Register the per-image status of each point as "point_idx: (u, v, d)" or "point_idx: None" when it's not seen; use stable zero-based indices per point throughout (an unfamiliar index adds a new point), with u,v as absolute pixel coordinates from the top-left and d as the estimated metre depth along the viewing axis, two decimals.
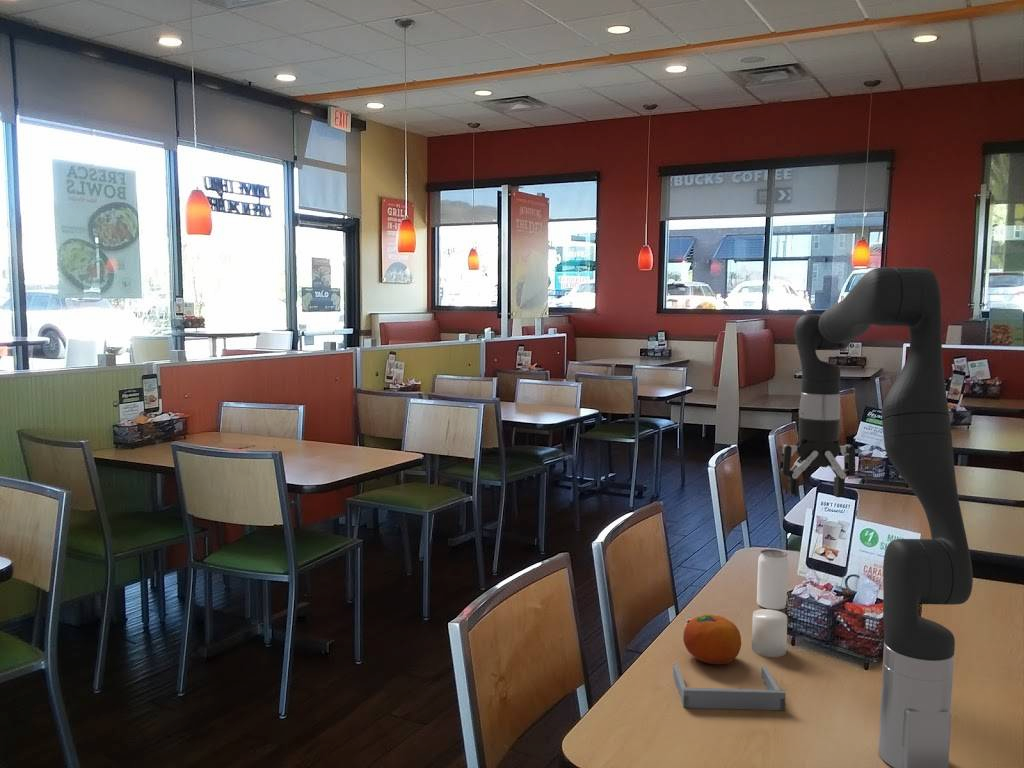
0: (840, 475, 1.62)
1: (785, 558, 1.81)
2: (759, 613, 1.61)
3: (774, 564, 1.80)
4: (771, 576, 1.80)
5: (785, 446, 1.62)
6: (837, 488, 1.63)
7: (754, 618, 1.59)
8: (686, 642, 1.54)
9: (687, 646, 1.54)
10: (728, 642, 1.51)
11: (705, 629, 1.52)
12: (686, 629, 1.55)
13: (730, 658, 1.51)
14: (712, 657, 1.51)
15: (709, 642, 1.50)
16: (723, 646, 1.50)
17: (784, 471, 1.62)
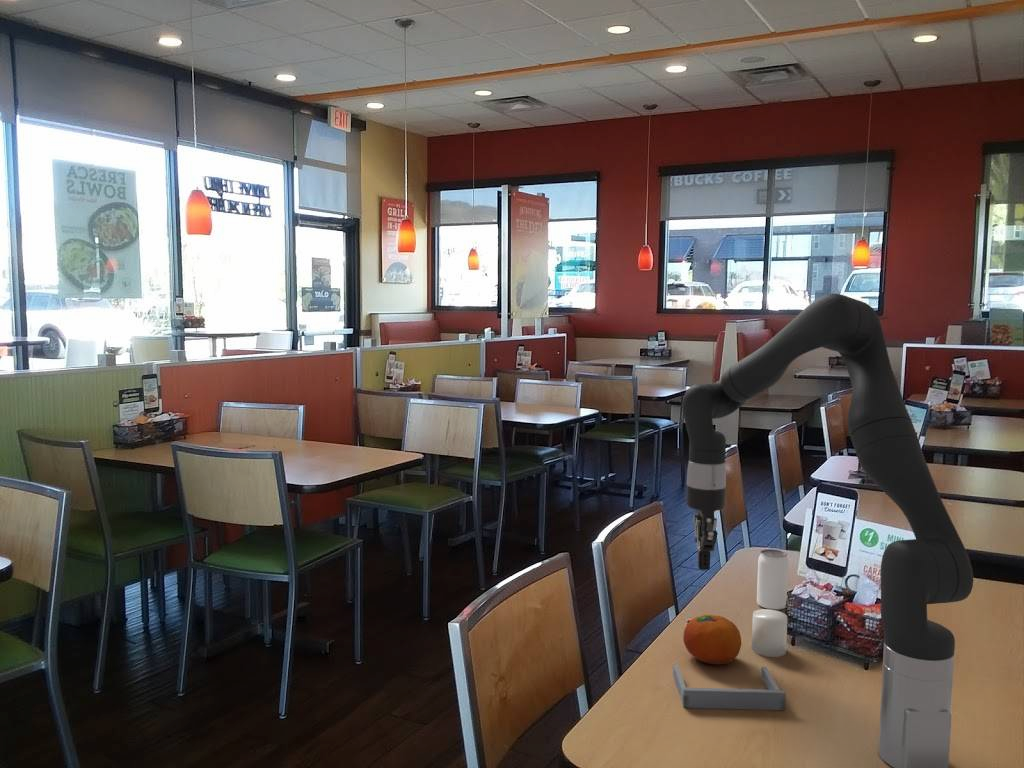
0: None
1: (785, 558, 1.81)
2: (759, 613, 1.61)
3: (774, 564, 1.80)
4: (771, 576, 1.80)
5: (714, 534, 1.58)
6: None
7: (754, 618, 1.59)
8: (686, 642, 1.54)
9: (687, 646, 1.54)
10: (728, 642, 1.51)
11: (705, 629, 1.52)
12: (686, 629, 1.55)
13: (730, 658, 1.51)
14: (712, 657, 1.51)
15: (709, 642, 1.50)
16: (723, 646, 1.50)
17: (713, 547, 1.61)
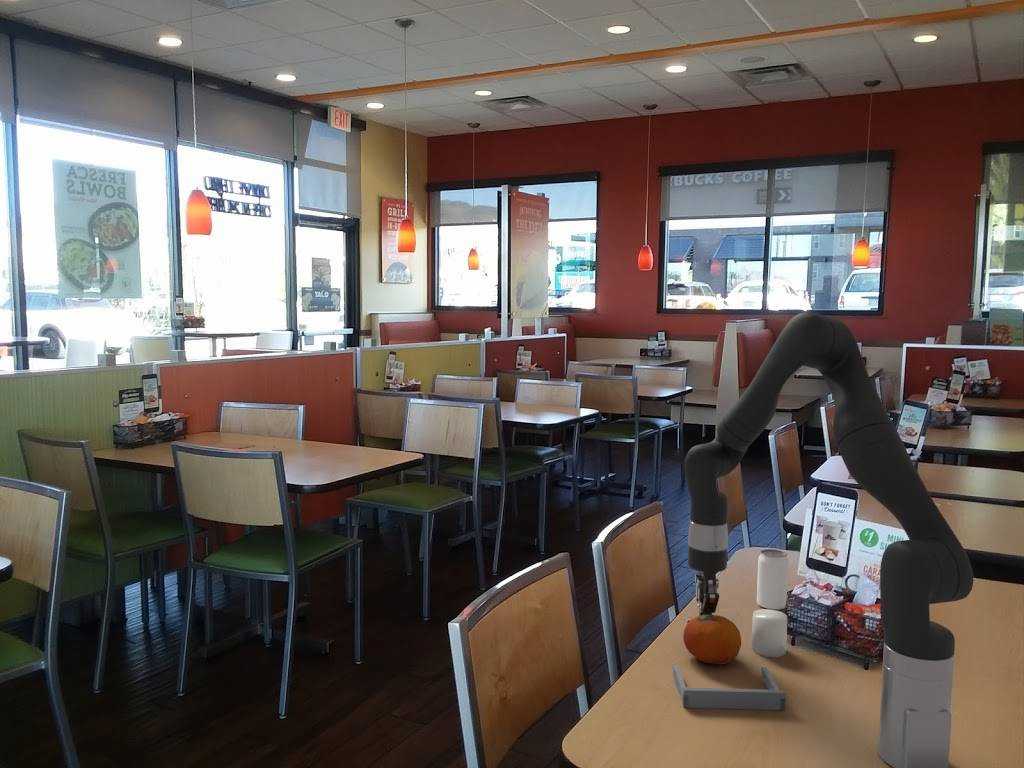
0: None
1: (785, 558, 1.81)
2: (759, 613, 1.61)
3: (774, 564, 1.80)
4: (772, 576, 1.80)
5: (716, 597, 1.56)
6: None
7: (754, 618, 1.59)
8: (686, 641, 1.54)
9: (687, 646, 1.54)
10: (728, 642, 1.51)
11: (705, 629, 1.52)
12: (686, 629, 1.55)
13: (730, 658, 1.51)
14: (712, 657, 1.51)
15: (710, 642, 1.50)
16: (723, 646, 1.50)
17: None
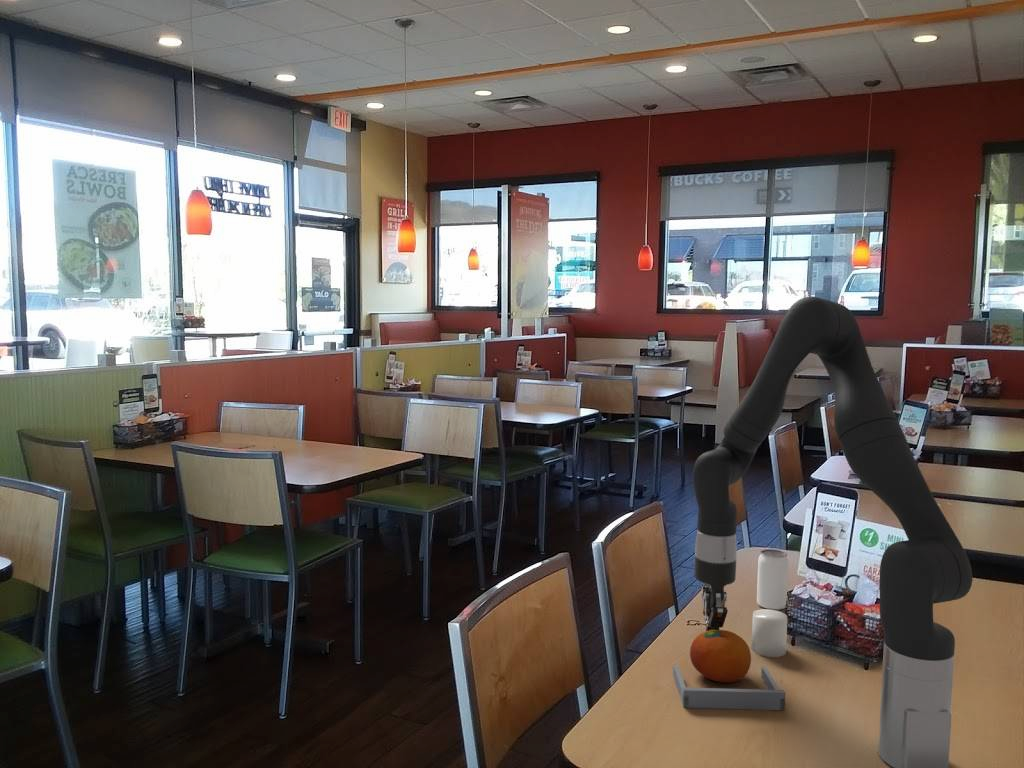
0: None
1: (785, 558, 1.81)
2: (759, 613, 1.61)
3: (774, 564, 1.80)
4: (772, 576, 1.80)
5: (724, 612, 1.48)
6: None
7: (754, 618, 1.59)
8: (694, 659, 1.47)
9: (694, 663, 1.47)
10: (738, 659, 1.43)
11: (713, 646, 1.44)
12: (693, 645, 1.48)
13: (740, 676, 1.44)
14: (721, 675, 1.43)
15: (719, 660, 1.43)
16: (733, 664, 1.43)
17: None
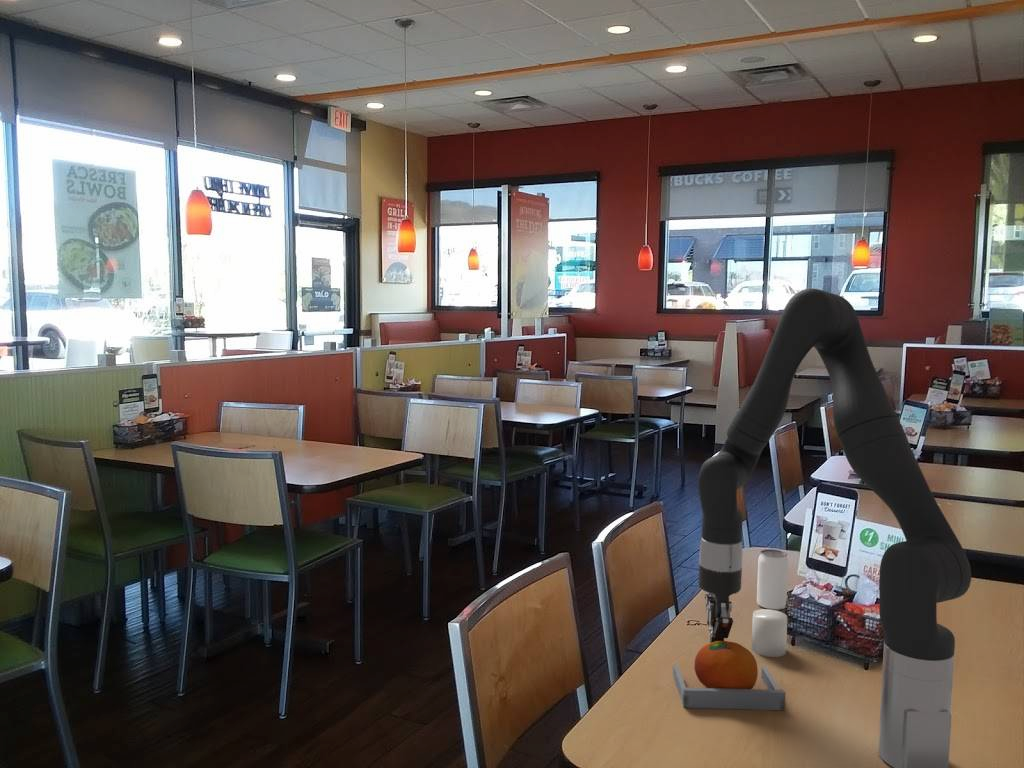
0: None
1: (785, 558, 1.81)
2: (759, 613, 1.61)
3: (774, 564, 1.80)
4: (772, 576, 1.80)
5: (729, 622, 1.43)
6: None
7: (754, 618, 1.59)
8: (699, 672, 1.42)
9: (699, 677, 1.42)
10: (745, 673, 1.38)
11: (719, 659, 1.39)
12: (698, 658, 1.43)
13: None
14: None
15: (725, 674, 1.38)
16: (740, 678, 1.38)
17: None
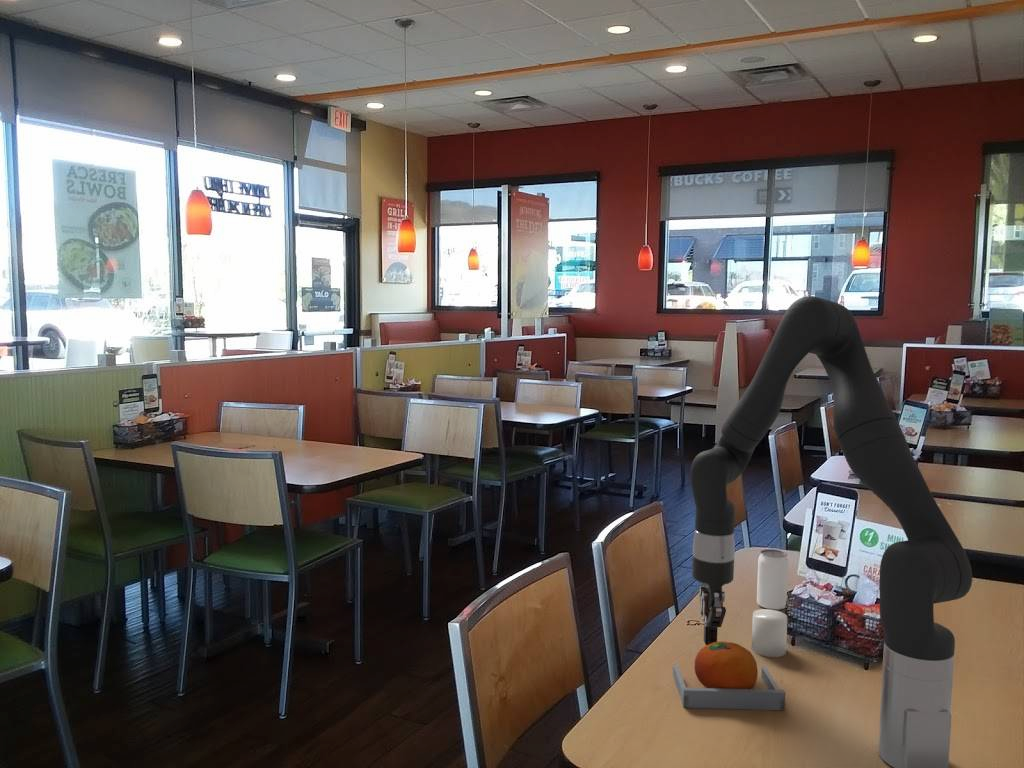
0: None
1: (785, 558, 1.81)
2: (759, 613, 1.61)
3: (774, 564, 1.80)
4: (771, 576, 1.80)
5: (722, 611, 1.48)
6: None
7: (754, 618, 1.59)
8: (699, 672, 1.42)
9: (699, 677, 1.42)
10: (745, 672, 1.38)
11: (719, 658, 1.40)
12: (698, 658, 1.43)
13: None
14: None
15: (725, 673, 1.38)
16: (740, 677, 1.38)
17: None
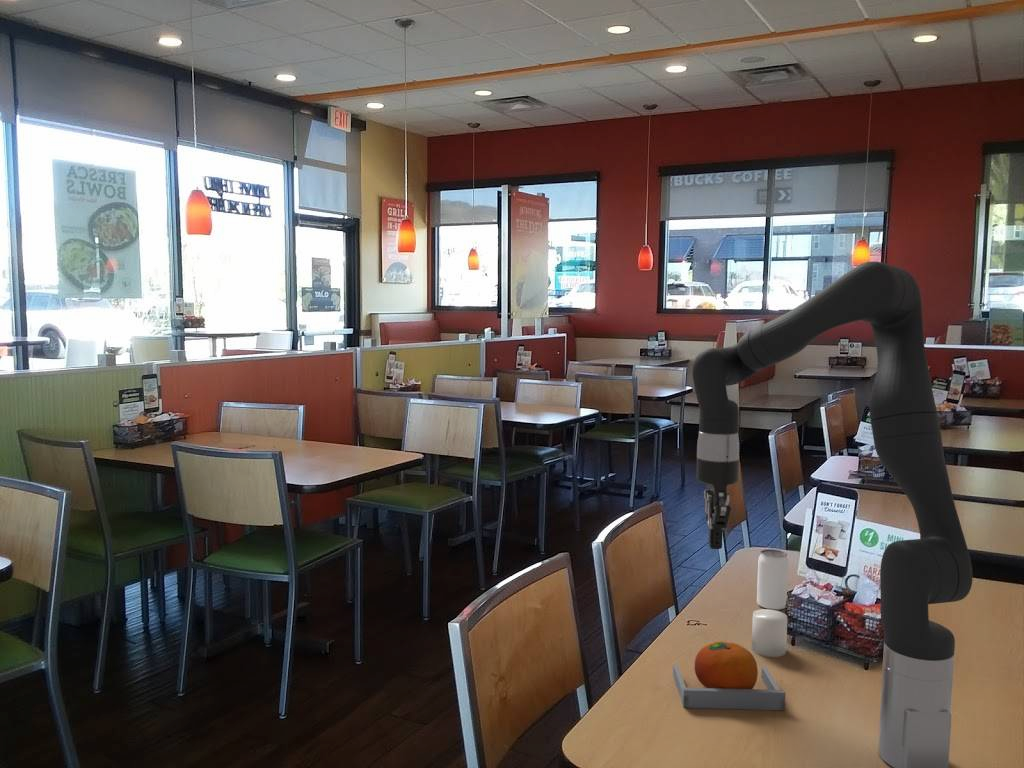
0: None
1: (785, 558, 1.81)
2: (759, 613, 1.61)
3: (774, 564, 1.80)
4: (772, 576, 1.80)
5: (727, 509, 1.47)
6: None
7: (754, 618, 1.59)
8: (699, 672, 1.42)
9: (699, 677, 1.42)
10: (745, 672, 1.38)
11: (719, 658, 1.40)
12: (698, 658, 1.43)
13: None
14: None
15: (725, 673, 1.38)
16: (740, 678, 1.38)
17: None
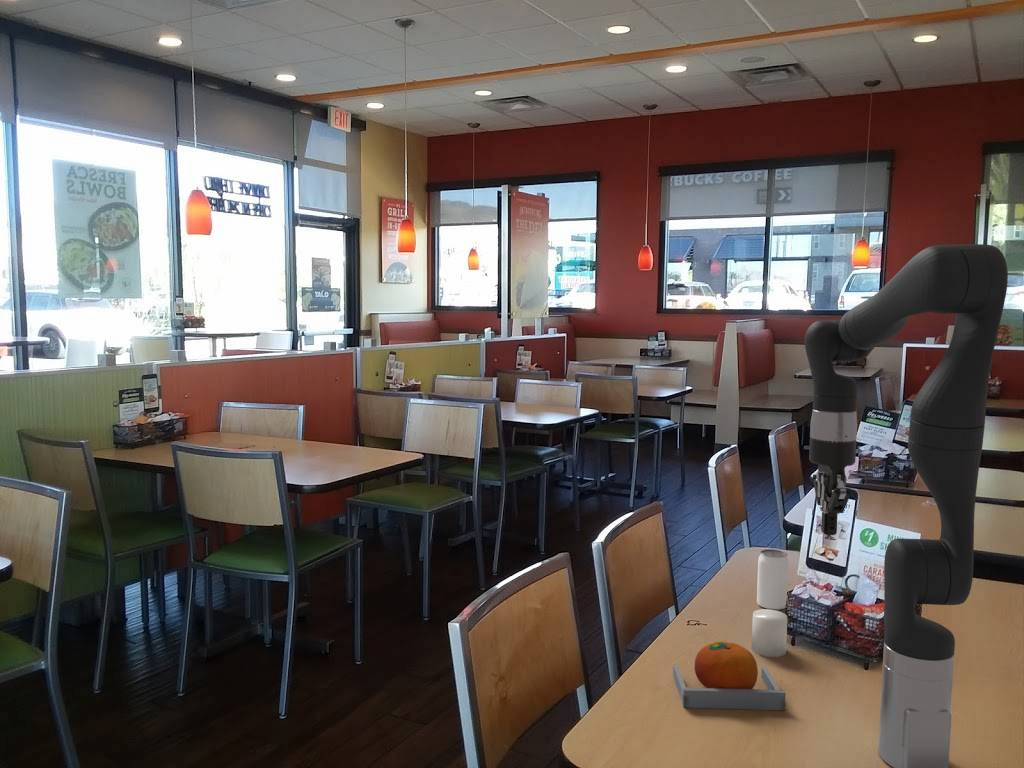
0: None
1: (785, 558, 1.81)
2: (759, 613, 1.61)
3: (774, 564, 1.80)
4: (772, 576, 1.80)
5: (847, 492, 1.37)
6: None
7: (754, 618, 1.59)
8: (699, 672, 1.42)
9: (699, 677, 1.42)
10: (745, 672, 1.38)
11: (719, 658, 1.40)
12: (698, 658, 1.43)
13: None
14: None
15: (725, 673, 1.38)
16: (740, 678, 1.38)
17: None
